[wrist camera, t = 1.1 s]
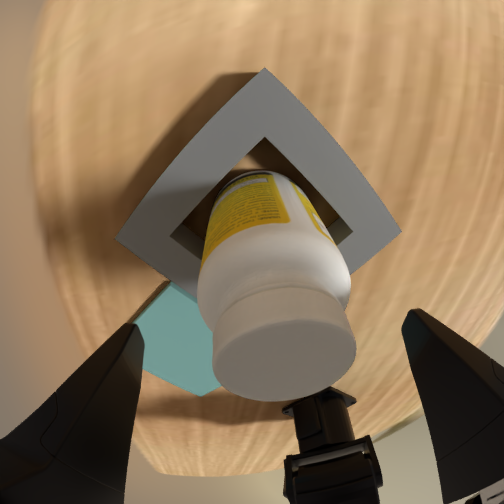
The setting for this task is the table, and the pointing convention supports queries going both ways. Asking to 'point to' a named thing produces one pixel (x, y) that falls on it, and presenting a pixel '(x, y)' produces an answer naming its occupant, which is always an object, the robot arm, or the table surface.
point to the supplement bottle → (273, 292)
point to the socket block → (228, 155)
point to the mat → (178, 341)
